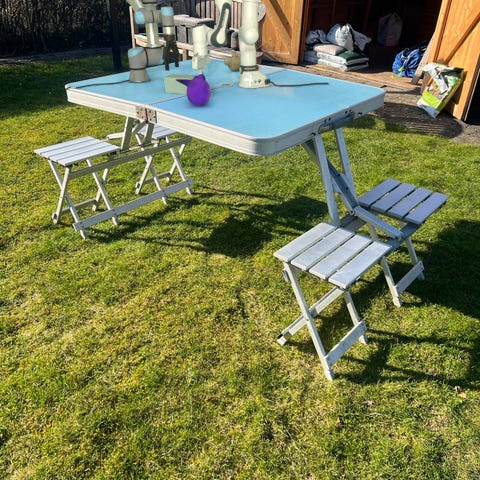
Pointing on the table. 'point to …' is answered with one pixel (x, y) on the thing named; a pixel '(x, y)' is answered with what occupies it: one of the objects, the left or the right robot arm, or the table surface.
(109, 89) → the table surface
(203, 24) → the right robot arm
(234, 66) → the teapot
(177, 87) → the cabinet
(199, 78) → the toy
